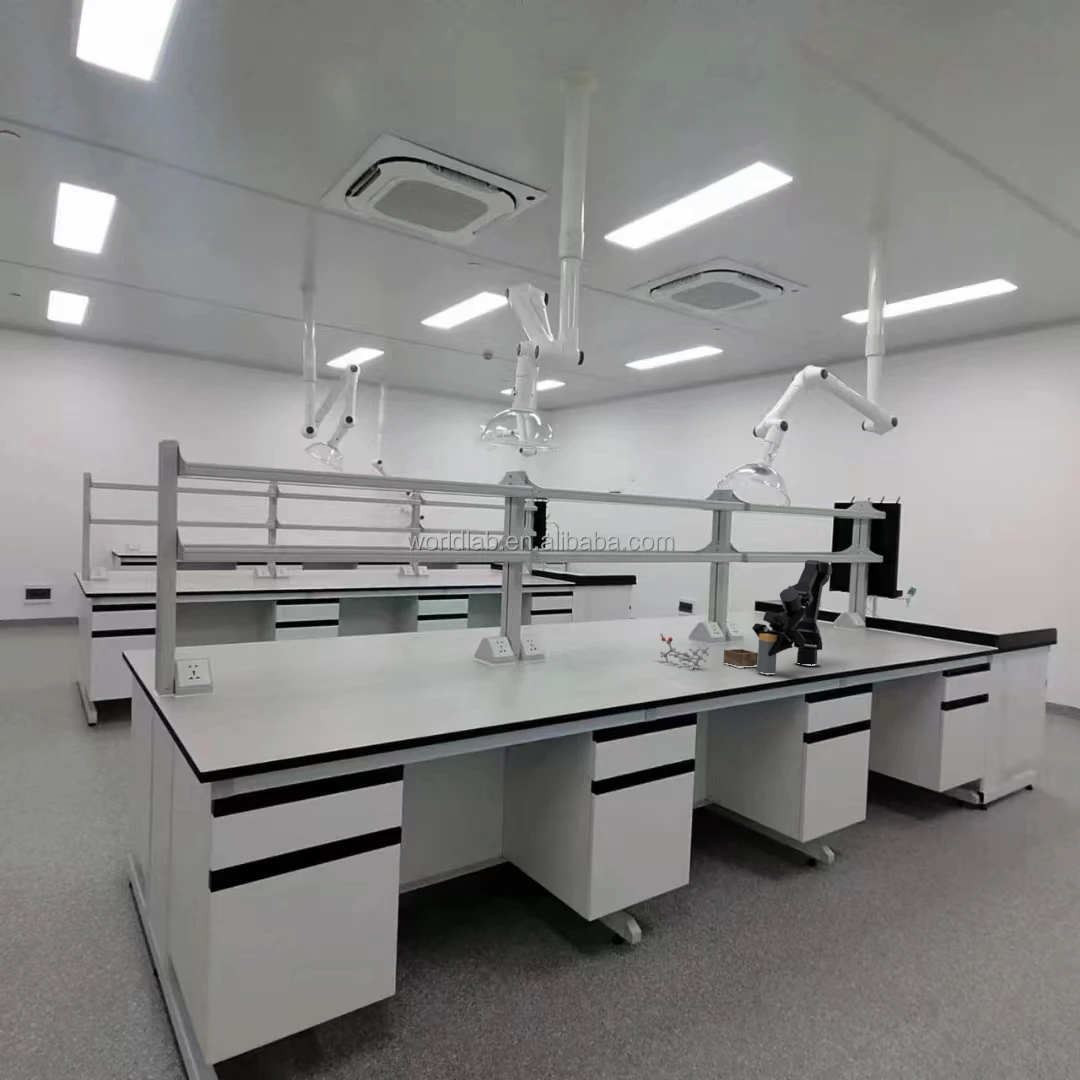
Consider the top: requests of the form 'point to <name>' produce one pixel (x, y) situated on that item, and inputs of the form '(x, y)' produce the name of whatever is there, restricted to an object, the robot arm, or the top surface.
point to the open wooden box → (740, 657)
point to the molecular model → (689, 658)
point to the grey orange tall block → (766, 653)
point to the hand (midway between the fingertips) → (764, 654)
